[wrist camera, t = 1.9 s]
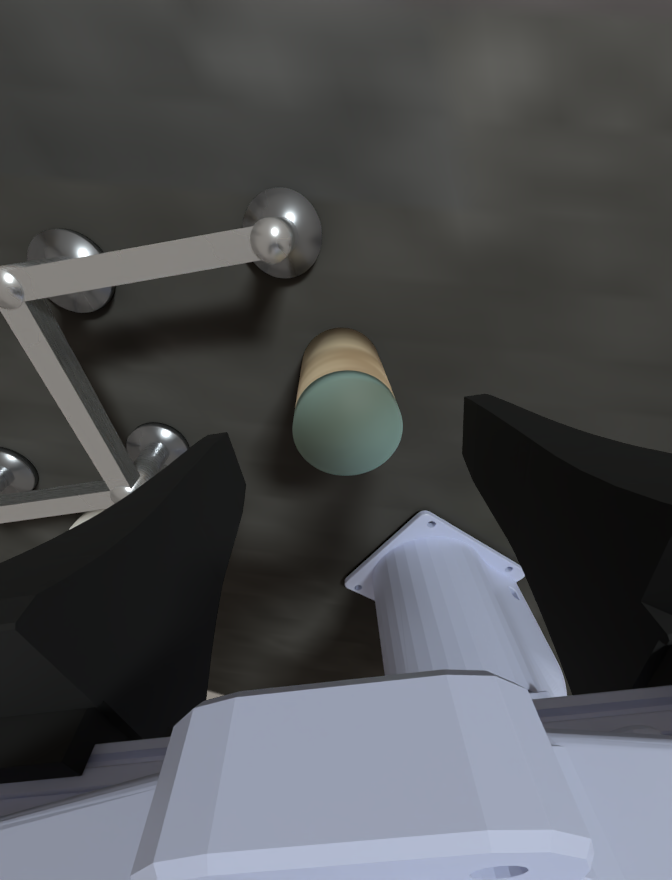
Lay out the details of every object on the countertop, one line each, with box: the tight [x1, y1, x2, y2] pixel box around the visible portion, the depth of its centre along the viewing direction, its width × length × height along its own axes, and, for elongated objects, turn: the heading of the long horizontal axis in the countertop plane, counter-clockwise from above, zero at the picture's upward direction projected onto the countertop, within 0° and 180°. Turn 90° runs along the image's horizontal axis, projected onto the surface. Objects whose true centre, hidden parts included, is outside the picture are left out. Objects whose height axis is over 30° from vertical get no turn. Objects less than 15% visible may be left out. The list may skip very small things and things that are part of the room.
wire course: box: [0, 187, 322, 523], centre depth 15 cm, size 9×21×4 cm, turn 144°
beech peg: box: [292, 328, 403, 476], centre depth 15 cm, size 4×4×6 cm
